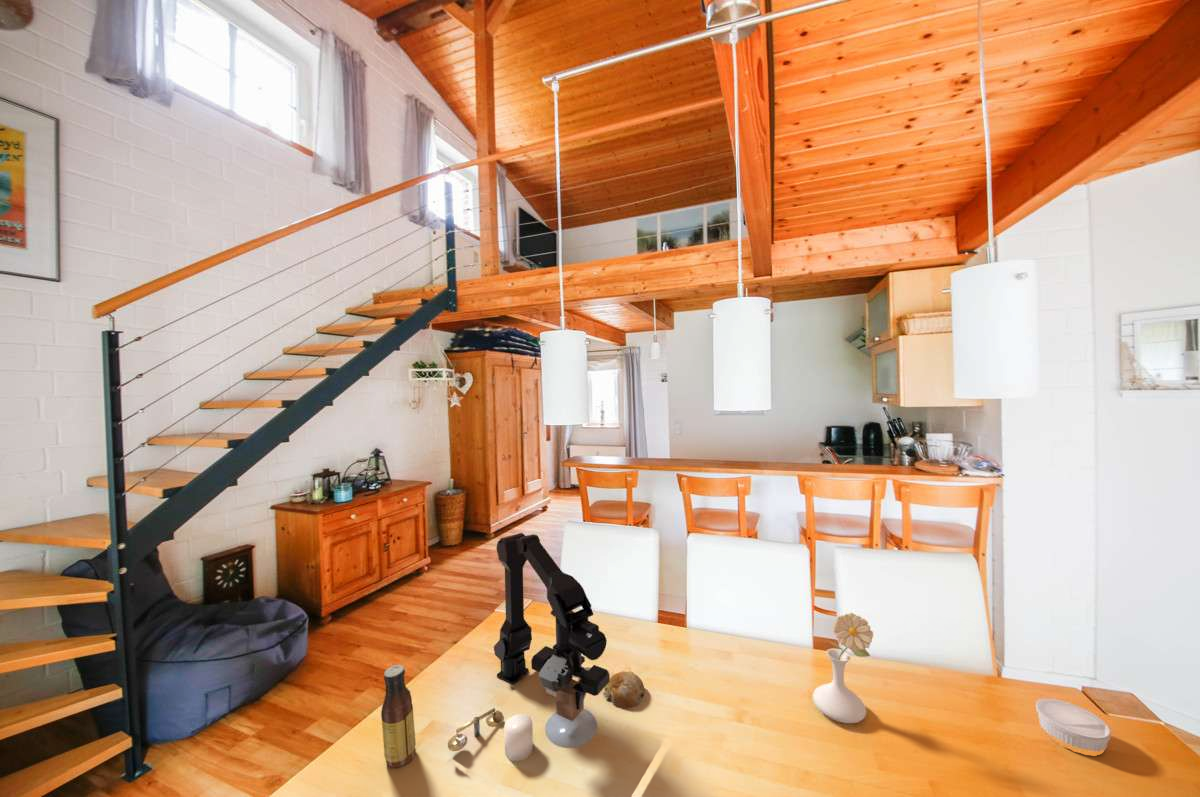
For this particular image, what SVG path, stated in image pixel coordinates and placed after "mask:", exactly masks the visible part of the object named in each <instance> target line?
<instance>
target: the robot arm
mask: <svg viewBox="0 0 1200 797" xmlns="http://www.w3.org/2000/svg"><path fill="white" fill-rule="evenodd" d="M496 553H497V557H498V561H499V562H500V563H501V565H502V566H503V568H504V596H505V597H504V599H505V620H504V621H503V623H502V625H501V627H500V630H499V639H498V641H497V642H496V643H495V644H494V646H493V651H494V655H495V657H496V658H498V660H499V661H500V671H499V672H498V673H497V674H496V677H497V678H499V679H501V680H504V681H506V682H507V683H510V684H512V685H513V684H516V683H517V682H518V681H519V680H520V679H521V678H523V677H524V676H525V675H526V674H527V673H529V670H530V669H529V668H528V667H526V666H527V665H526V659H525V652H526V651H529V650H530V649H531V648H530V647H531V643H532V641H533V638H532V637H533V636H532V631H533V630H532V627H531V626H530V625H529V624H528V622H527V621H526V619H525V610H524V609H525V608H524V607H525V606H524V604H525V603H524V566H525V565H526V562H528V563H529V564H530V566H531V567H532V569H533V570H534V571H535V573H536V574H537V576H538V577H539V578H540V580H541V581H542V583H543V584H544V586H545V588H546V598H547V601H548V603H549V605H550V608H551V611H550V615H551V616H552V617H554V618H555V641H556V643H555V644H554V645H552V648H551V647H550V646H547V645H545V646H544V647H543V648H541V649H540V650H539V651H537V652H536V653H535V654H534V655H532V658H531V660H530V661H531V670H534V671H536V672H538V676H539V680H540V683H541V686H542V687H543V688H545V689H546V688H548V689H550V690H552V691H554V692H558V691H559V690H560V689H561V688H562V687H565V688H567V687H568V685H569V684H570V682H571V680H572V679H573V678H577V681H578V683H577V684H576V685H575V686H574V687H573V689H574V690H575V691H576V707H577V710H579V709H580V708H581V706H582V703H583V701H584V700H585V699H586V695H587V694H588V695H591V696H593V697H596V696H599V694H600V693H601V692H602V690H604V688H605V686H606V685H607V684H608V683H609V682H610V678H611V676H610V671H609V670H608V669H606V668H603V667H601V666H598V665H595V664H593V665H592V666H591V667H589V666H586V667H584V666H582V665H583V664H584V663H585V662H586V661H585V659H586V658H587V659H588V660H589V661H597V660H598V659H599V658H600V657H601V656H602V655H603V653H604V652H605V650H606V646H607V637H606V635H605V633H604V632H603V631H601V630H600V626H599V625H598V624H596V623H593V622H592V621H590V620H589V618H590V617H591V616H593V615H594V611H593V610H592V604H591V602H590V600H589V598H588V596H587V594H586V592H585V589H584V587H583V586H582V585H581V584H580V582H579V581H578V580H577V579H576V578H574V576H572V575H570V574H567V573H565V572H563V571H562V570H561V568H560V567H559V566H558V564H557V563H556V562H555V560H554V559H553V558H552V556H551V555H550V554H549V552H548V551H547V550H546V548H545V547H544V546H543V544H541V540H540V537H539V536H538V535H537V534H534V533H533V534H529V535H528V534H526V535H525V533H523V532H519V533H516V534H511V535H508V536H505V537H501V538H499V540H498V541H497V543H496ZM578 608H582V609H580V610H577V611H574V610H576V609H578ZM582 655H583V656H582ZM584 702H585V701H584Z"/></svg>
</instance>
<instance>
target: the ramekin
mask: <svg viewBox="0 0 1200 797" xmlns="http://www.w3.org/2000/svg"><path fill="white" fill-rule="evenodd" d="M1035 710H1036V712H1037V715H1038V721H1039V726H1040V725H1041V726H1040V728H1041V727H1042V728H1043V729H1044V730H1045V731H1046V732H1047V733H1048V734H1050V735H1052V736H1054V737H1055V738H1057V739H1058V740H1060V741H1062V742H1065V743H1067V744H1070V745H1071V746H1075V747H1078V748H1081V749H1086V750H1092V751H1101V750H1104V749H1105V748H1106V749H1107V746H1108V743H1109V741H1110V740H1111V738H1112V734H1111V733H1112V732H1111V729H1110V727H1109V726H1108V724H1107V723H1106V722H1105V721H1104V720H1103V719H1101V718H1100V717H1098V716H1097V715H1095V714H1094V713H1092V712H1090V711H1089V710H1087V709H1085V708H1083V707H1081V706H1078V705H1076V704H1074V703H1071V702H1067V701H1065V700H1060V699H1055V698H1040V699H1038V700H1036V703H1035Z"/></svg>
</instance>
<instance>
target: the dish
mask: <svg viewBox="0 0 1200 797" xmlns="http://www.w3.org/2000/svg"><path fill="white" fill-rule="evenodd" d="M597 727H598V724H597V720H596V717H595V716H594V715H593V713H591V712H590V711H589V710H587V709H585V708H584V709H583V710H582V711H581V713H580V714H579V715H578V716H577V717H576V718H575V719H574V721H573V722H572V721H570V720H568V719H566V718H564V717H562V716H560V715H558V714H557V711H555V712H554V713H553V714H552V715H551V716H549V718H548V719H547V721H546V724H545V727H544V730H545V735H546V737H547V739H548V741H550V743H552V744H553V745H554V746H557V747H559V748H560V747H561V748H563V749H564V748H565V749H573V748H577V747H581V746H583V745H585V744H587V743H588V742H590V741H591V740H592V738H593V737H594V736H595V734H596V733H597V729H598V728H597Z"/></svg>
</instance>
